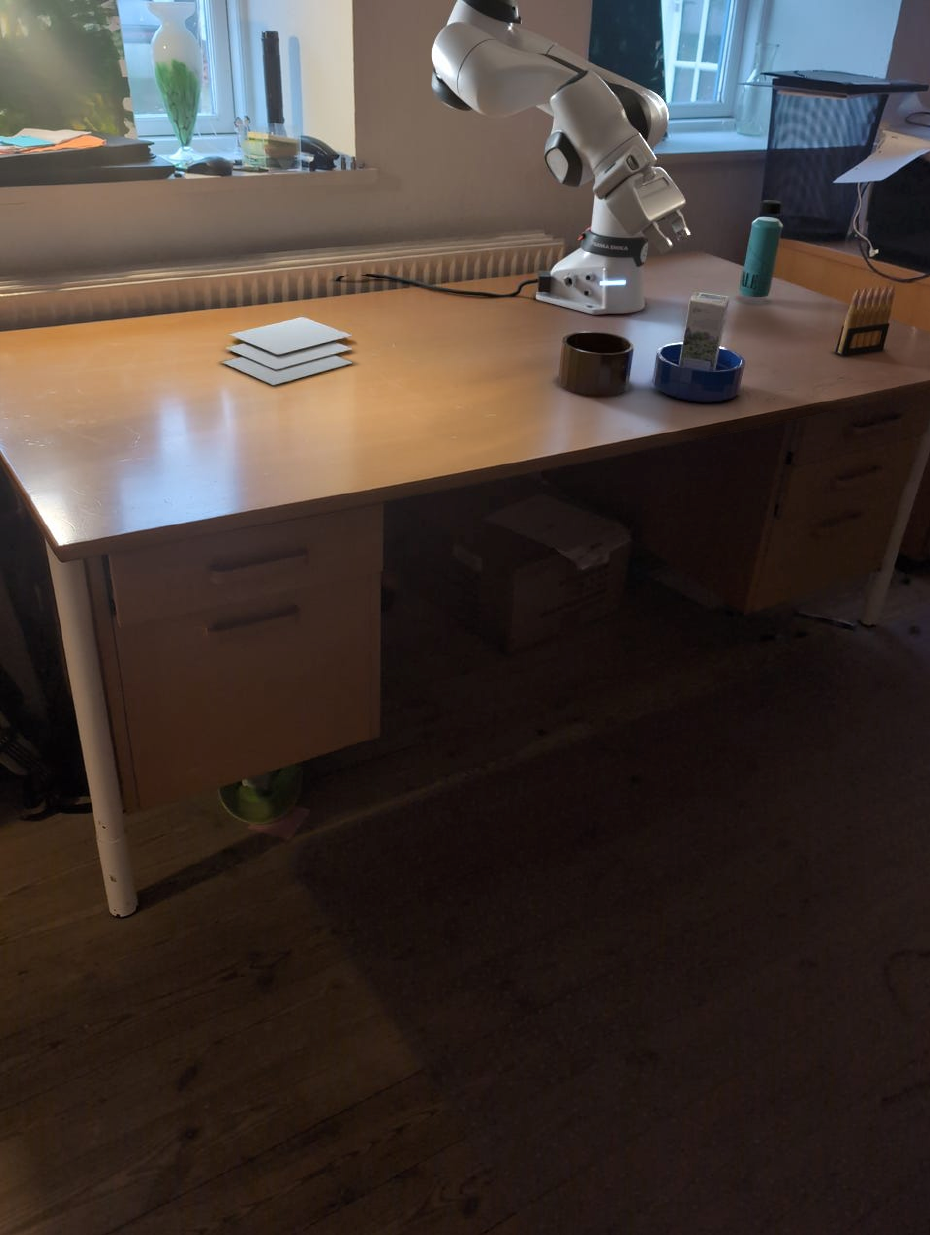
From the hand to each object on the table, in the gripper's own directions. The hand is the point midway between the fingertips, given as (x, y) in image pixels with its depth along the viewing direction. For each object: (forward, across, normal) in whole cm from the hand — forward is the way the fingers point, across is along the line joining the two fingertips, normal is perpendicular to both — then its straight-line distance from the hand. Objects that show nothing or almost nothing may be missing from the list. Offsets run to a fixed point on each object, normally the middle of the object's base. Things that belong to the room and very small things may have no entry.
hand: (677, 245), depth 158 cm
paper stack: (-26, +24, -57) cm, 67 cm away
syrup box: (+20, 0, -10) cm, 23 cm away
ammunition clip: (+35, -38, +4) cm, 51 cm away
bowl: (+20, 0, -11) cm, 23 cm away
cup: (+10, +8, -21) cm, 25 cm away
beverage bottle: (+17, -60, -15) cm, 64 cm away
